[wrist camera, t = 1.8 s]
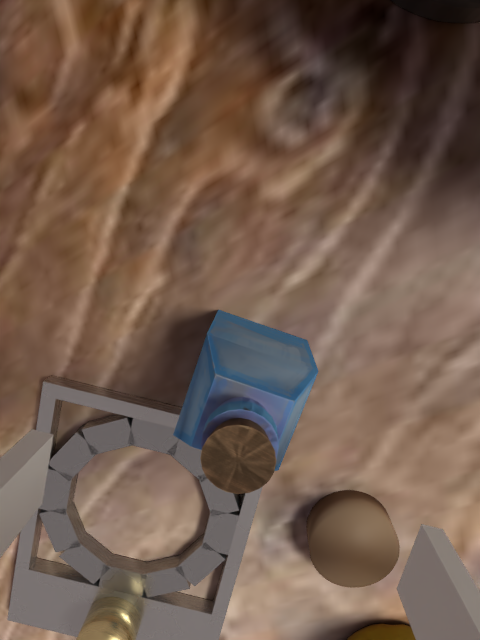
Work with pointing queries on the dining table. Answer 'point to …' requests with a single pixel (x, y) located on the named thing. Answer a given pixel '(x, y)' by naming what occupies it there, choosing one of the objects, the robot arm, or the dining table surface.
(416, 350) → the dining table surface
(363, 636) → the mug
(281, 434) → the perfume bottle
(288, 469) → the dining table surface
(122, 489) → the dining table surface
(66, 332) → the dining table surface
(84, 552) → the plate
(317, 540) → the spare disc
